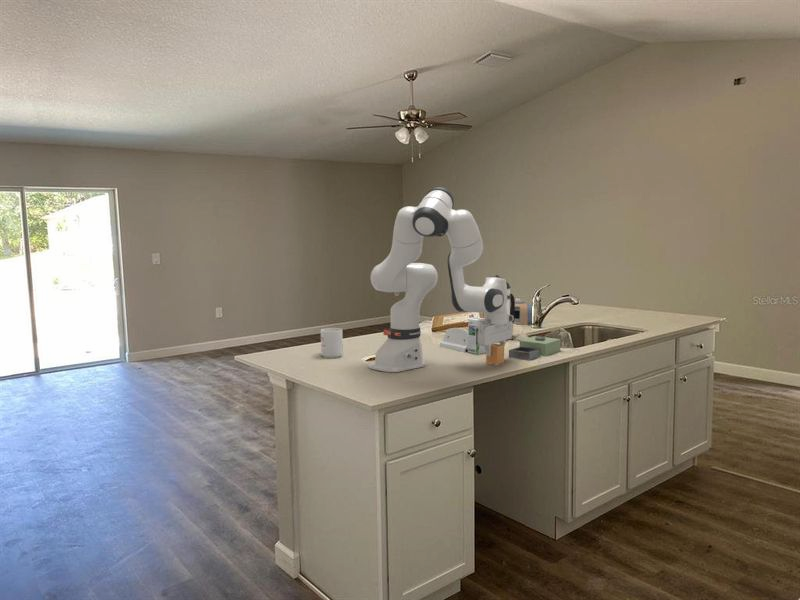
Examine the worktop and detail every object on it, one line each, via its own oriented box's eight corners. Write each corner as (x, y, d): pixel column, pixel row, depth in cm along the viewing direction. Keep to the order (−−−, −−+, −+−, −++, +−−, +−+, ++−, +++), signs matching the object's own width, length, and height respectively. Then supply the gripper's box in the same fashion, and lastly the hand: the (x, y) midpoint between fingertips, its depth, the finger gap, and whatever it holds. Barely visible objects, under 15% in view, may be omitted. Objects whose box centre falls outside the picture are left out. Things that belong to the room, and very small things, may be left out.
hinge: (438, 346, 267) (444, 324, 268) (446, 348, 270) (451, 327, 271) (464, 352, 254) (470, 329, 255) (472, 354, 257) (478, 332, 258)
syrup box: (467, 352, 254) (467, 318, 252) (477, 350, 258) (477, 316, 256) (477, 354, 250) (477, 319, 248) (487, 352, 253) (487, 318, 252)
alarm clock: (494, 323, 327) (494, 301, 325) (512, 319, 342) (513, 297, 340) (526, 327, 314) (526, 304, 313) (543, 322, 330) (544, 300, 328)
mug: (347, 356, 249) (346, 329, 248) (328, 359, 244) (327, 332, 242) (331, 351, 258) (331, 326, 257) (313, 354, 253) (312, 328, 252)
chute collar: (529, 360, 237) (529, 353, 237) (508, 357, 243) (508, 350, 243) (540, 356, 244) (540, 349, 244) (520, 353, 250) (520, 346, 250)
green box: (545, 356, 245) (546, 341, 244) (519, 352, 253) (519, 338, 252) (560, 350, 255) (560, 336, 254) (534, 347, 262) (534, 333, 262)
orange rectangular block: (497, 365, 231) (497, 347, 230) (486, 363, 234) (486, 345, 233) (504, 362, 235) (504, 344, 234) (493, 360, 238) (493, 343, 237)
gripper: (487, 322, 222) (487, 359, 224) (515, 315, 238) (515, 350, 239) (473, 321, 226) (473, 357, 228) (501, 314, 242) (501, 348, 244)
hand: (495, 353), depth 234 cm, fingers open, 7 cm apart
